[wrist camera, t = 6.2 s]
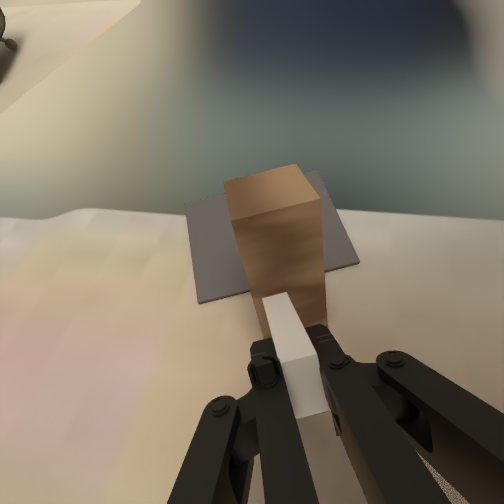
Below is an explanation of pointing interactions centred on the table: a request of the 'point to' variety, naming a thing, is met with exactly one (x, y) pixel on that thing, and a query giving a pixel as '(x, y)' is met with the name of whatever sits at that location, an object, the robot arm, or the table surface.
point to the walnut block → (280, 240)
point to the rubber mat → (227, 252)
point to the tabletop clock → (8, 42)
